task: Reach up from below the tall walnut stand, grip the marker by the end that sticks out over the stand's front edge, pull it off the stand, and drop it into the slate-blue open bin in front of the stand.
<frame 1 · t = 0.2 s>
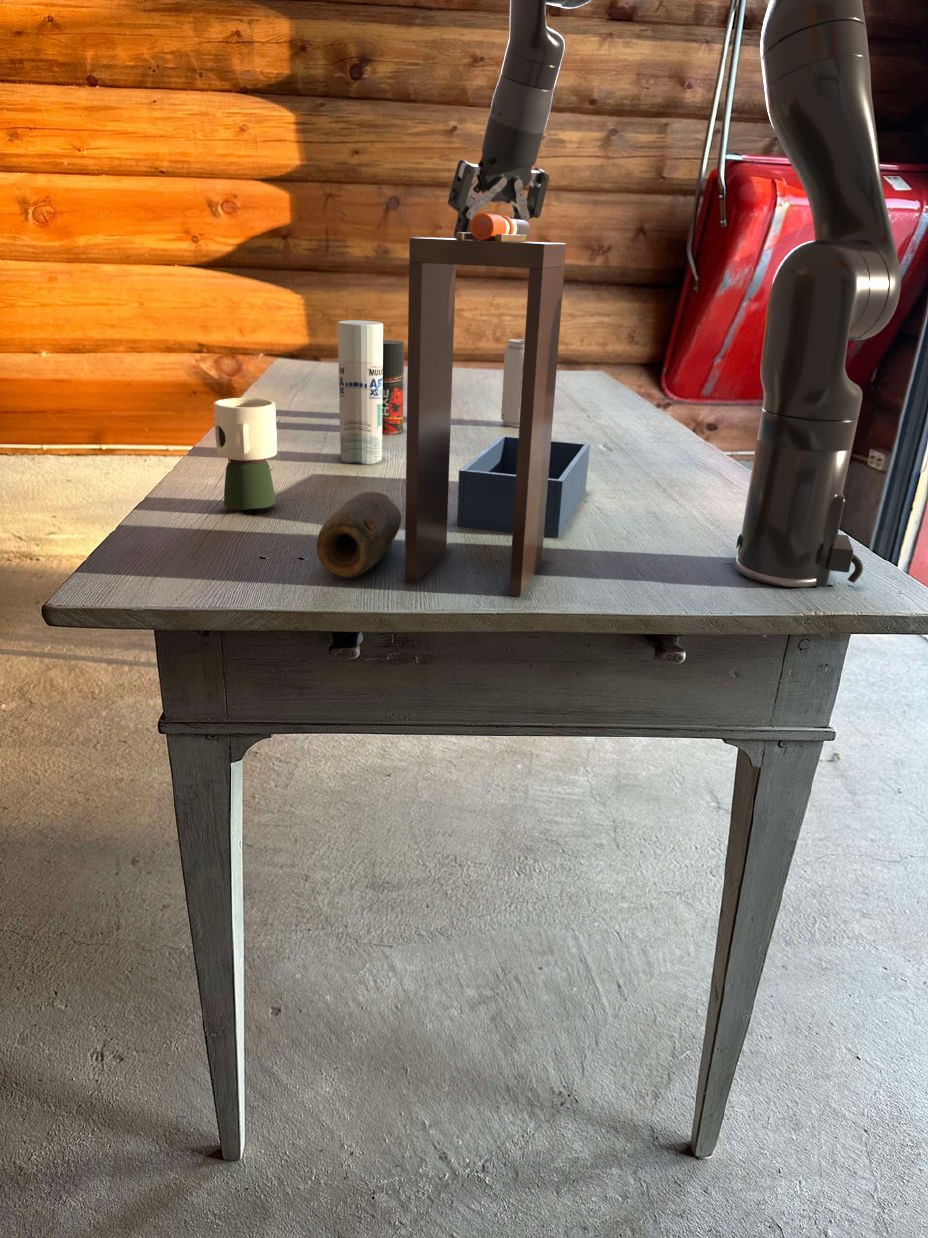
hand: (486, 244, 128), 31 cm above the table, tool tilted 20°, fingers open, 8 cm apart
energy drink can: (516, 425, 169), on the table
deodorant: (385, 431, 160), on the table
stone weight: (362, 561, 97), on the table
bin: (525, 507, 118), on the table
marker: (505, 228, 87), point 33 cm above the table, touching stand
spray paint can: (361, 460, 139), on the table
character mug: (250, 510, 113), on the table
stand: (475, 571, 95), on the table
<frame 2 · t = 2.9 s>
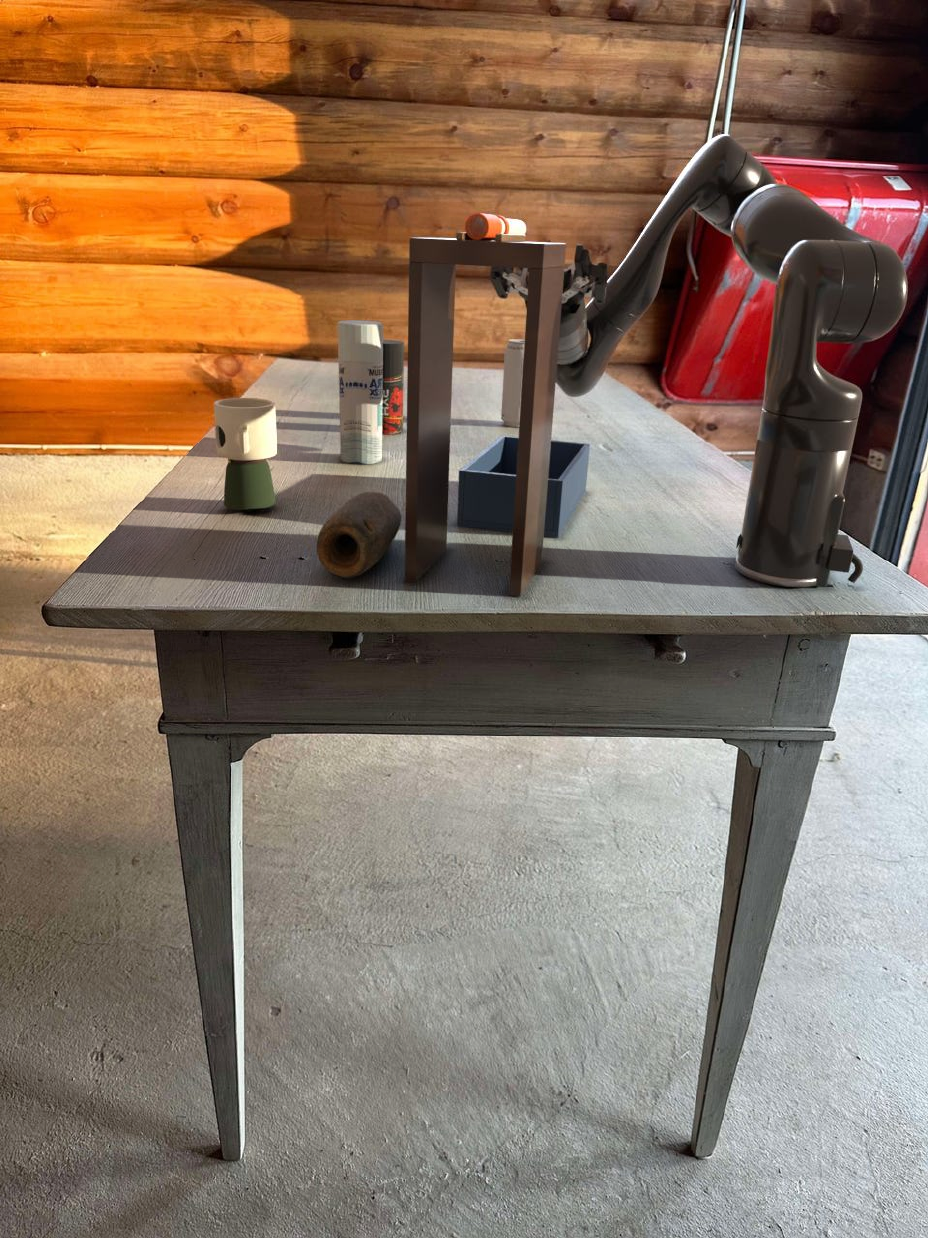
hand: (542, 250, 106), 31 cm above the table, tool pointing upward, fingers open, 8 cm apart
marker: (500, 227, 87), point 33 cm above the table, tilted 24°, touching stand
everything else where it was.
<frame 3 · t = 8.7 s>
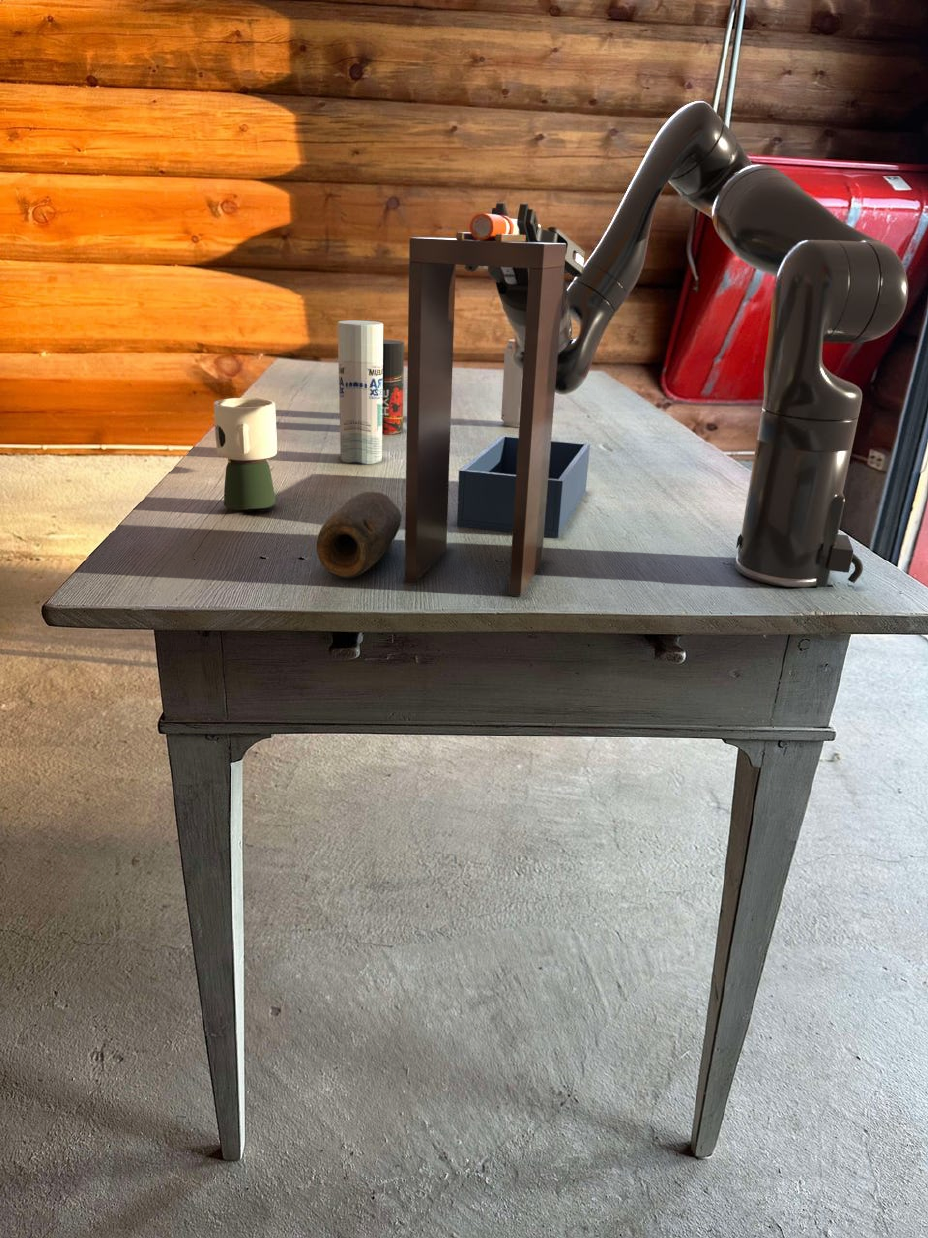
hand: (510, 211, 88), 35 cm above the table, tool pointing upward, fingers closed on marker, 2 cm apart
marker: (505, 228, 87), point 33 cm above the table, touching gripper, stand
everything else where it was.
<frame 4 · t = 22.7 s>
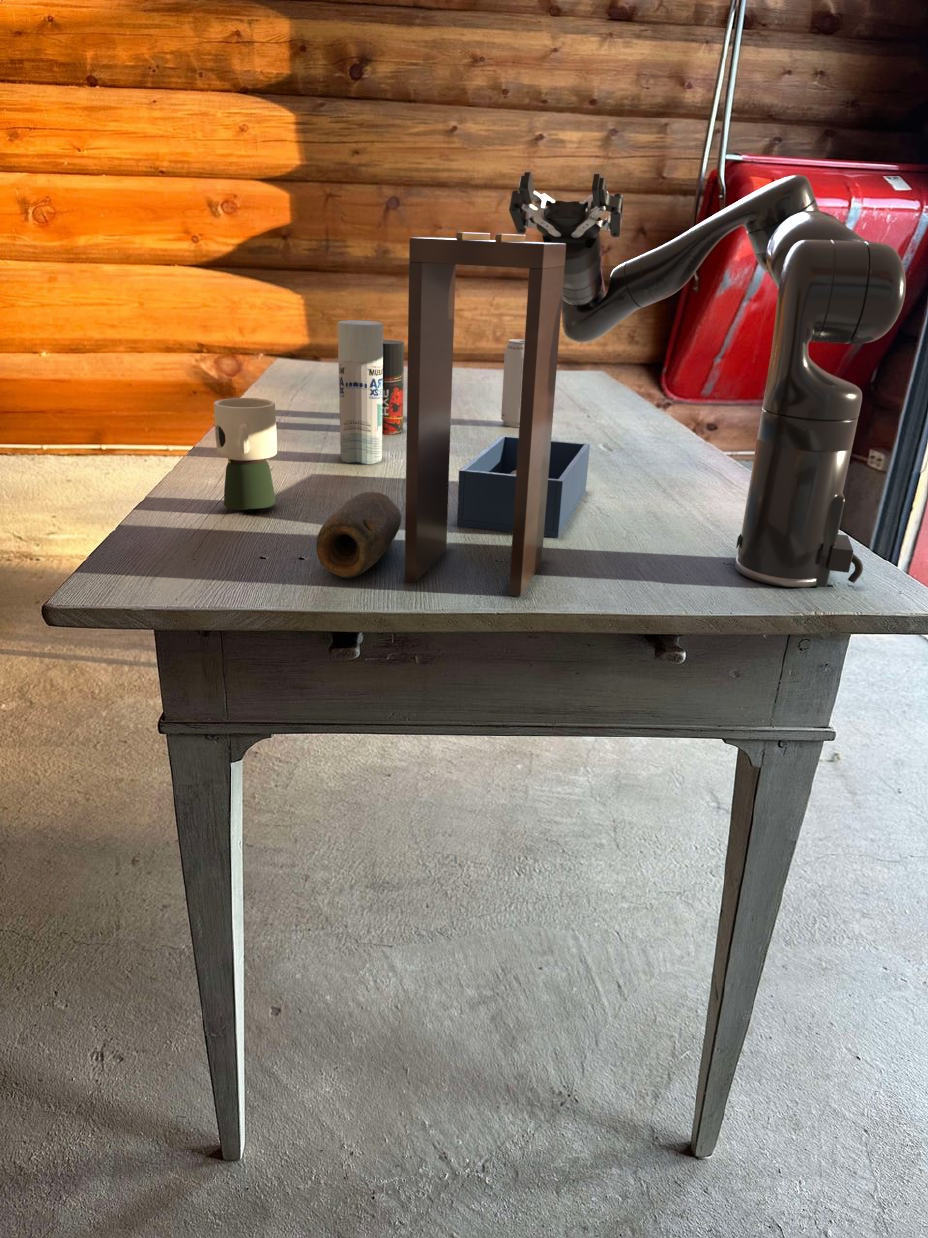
hand: (561, 178, 110), 39 cm above the table, tool pointing upward, fingers open, 8 cm apart
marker: (503, 489, 119), point 2 cm above the table, tilted 149°, touching bin
everything else where it was.
at the end: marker inside the target area in the bin (3.3 cm from its centre), point 1.9 cm above the bin's base; the gripper is holding nothing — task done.
